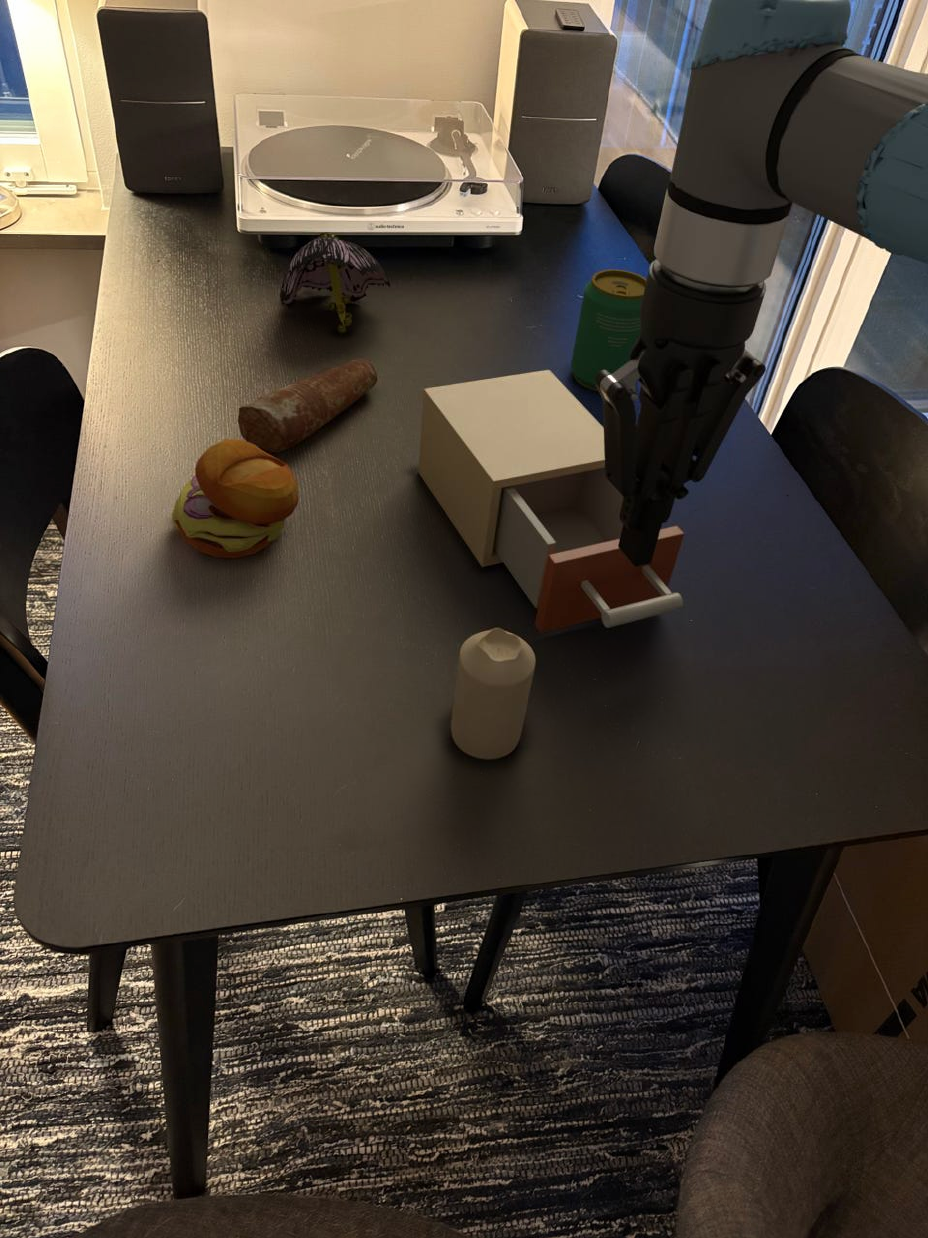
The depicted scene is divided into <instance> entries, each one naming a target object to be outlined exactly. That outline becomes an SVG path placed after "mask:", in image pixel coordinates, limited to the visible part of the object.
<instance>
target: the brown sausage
mask: <svg viewBox="0 0 928 1238" xmlns="http://www.w3.org/2000/svg"><path fill="white" fill-rule="evenodd" d="M377 382H378V374H377V370H376V368H375V366H374V365H373V364H372V363H370V362H369V361H367V360H366V359H363V358H357V359H353V360H350V361H348V362H346V363H344V364H341V365H339V366H336V367H333V368H330V369H328V370H324V371H322V372H320V373H317V374H314V375H312V376H310V377H307V378H304V379H301V380H298V381H297V382H295V383H291V384H289V385H287V386H284V387H281V388H279V389H277V390H275V391H273V392H270V393H268V394H265V395H263V396H260V397H258V398H256V399H255V400H253V401H251V402H249V403H247V404H244V405H242V406H240V407H239V408H238V418H237V424H238V428H239V432H240V435H241V437H242V438H243V439H244V441H247V442H250V443H252V444H254V445H256V446H257V447H258V448H260V449H263V450H266V452H271V453H280V452H284V451H287V450H289V449H290V448H293V447H294V446H296V445H298V444H299V443H301V441H303V440H305V439H307V438H308V437H309V436H312V435H313V434H314V433H315V432H317V431H318V430H319V429H321V428H322V427H323V426H324V425H326V424H327V423H329V422H330V421H332V420H333V419H334V418H335V417H337V416H338V415H339V414H340V413H342V412H343V411H345V410H346V409H347V408H349V407H350V406H352V404H354V403H355V402H356V401H358V400H359V399H360V398H362V397H363V396H364V395H365V394H367V393H368V392H369V391H370V390H371V389H373V388H374V387H375V385H376V384H377Z"/></svg>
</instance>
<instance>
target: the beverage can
mask: <svg viewBox="0 0 928 1238" xmlns="http://www.w3.org/2000/svg"><path fill="white" fill-rule="evenodd" d="M646 281H647V278H646V277H645V276H643V275H641V274H638V273H636V272H632V271H629V270H624V269H614V268H613V269H612V268H611V269H602V270H599V271H597V272H595V273H594V274H593V275H592V276H591V279H590V280H589V281H588V282H587V284H586V285H585V287H584V290H583V296H582V301H581V308H580V313H579V317H578V318H579V319H578V323H577V324H578V325H577V328H576V329H577V330H576V335H575V340H574V345H573V352H572V357H571V362H570V368H571V371H572V374H573V378H574V379H575V381H576V382H577V383H578V384H579V385H581V386H582V387H584V388H586V389H589V390H591V391H595V392H599V391H598V389H597V387H596V385H595V382H594V379H595V376H596V374H597V373H598V372H600V371H602V370H607V371H609V372H610V373H611V374H613V373H614V372H615V371H617V370H618V369H619V368H621V367H622V366H623V365H625V364H626V363H627V362H629V355H630V351H631V349H632V347H633V346H634V344H635V343H636V341H637V339H638V338H639V335H640V333H641V317H640V308H641V303H642V299H643V294H644V290H645V285H646Z"/></svg>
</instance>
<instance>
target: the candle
mask: <svg viewBox="0 0 928 1238" xmlns="http://www.w3.org/2000/svg"><path fill="white" fill-rule="evenodd" d="M536 661H537V660H536V655H535V652H534V651H533V648H532V647H531V646H530V645H529V643H527V642H526V641H525V640H524V639H522V638H521V636H518V635H516V634H514V633H512V632H509V631H506V630H504V629H502V628H501V627H494V628H492V629H489V630H484V631H481V632H477V633H475V634H473V635H471V636H470V637H468V638H467V639H465V641H464V642H463V644H462V645H461V648H460V649H459V657H458V665H457V672H456V679H455V680H456V681H455V689H454V695H453V696H454V697H453V705H452V713H451V722H450V731H451V737H452V740H453V742H454V743H455V745H456V746H457V747H458V748H459V750H461V751H462V752H463V753H465V754H467V755H468V756H471V757H474V758H476V759H480V760H497V759H500V758H503V757H505V756H506V757H507V755H509V754H511V753H512V752H514V750H515V749H516V748H517V746H518V744H519V742H520V740H521V736H522V732H523V726H524V721H525V717H526V712H527V708H528V702H529V699H530V694H531V693H530V692H531V687H532V683H533V678H534V673H535V667H536Z"/></svg>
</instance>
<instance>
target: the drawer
mask: <svg viewBox="0 0 928 1238" xmlns="http://www.w3.org/2000/svg"><path fill="white" fill-rule="evenodd" d="M623 498H624V497H623V496H622V495H621V494H620V493H619V492H618V490H617V489H616V488H615V487H614V486H613V485H612V484H611V483H610V481H609V480H608V479H607V478H606V476H605V468H600V469H594V470H589V471H584V472H579V473H574V474H569V475H564V476H559V477H554V478H549V479H544V480H539V481H534V482H529V483H523V484H518V485H513V486H508V487H503V488H501V495H500V502H499V509H498V516H497V523H496V530H495V537H494V544H493V548H494V550H495V551H496V552H497V554H498V555H499V557H500V558H501V560H502V561H503V562H502V563H503V564H504V566H505V567H506V568H507V570H508V571H509V573H510V574H511V576H512V577H513V578H514V580H515V581H516V582H517V584H518V586H519V587H520V588H521V590H522V591H523V593H524V594H525V596H526V597H527V598H528V600H529V601H530V603H531V604H532V605H533V607H534V608H535V609H536V610H537V612H536V615H535V616H536V617H535V621H534V625H535V627H536V628H537V630H538V631H539V633H540V634H543V633H544V634H545V633H548V632H551V631H555V630H559V629H563V628H566V627H570V626H574V625H578V624H582V623H585V622H589V621H593V620H597V619H601V621H602V624H603V625H604V627H605V628H606V629H607V628H608V629H610V628H614V627H617V626H621V625H625V624H628V623H633V622H637V621H641V620H644V619H648V618H651V617H655V616H658V615H663V614H666V613H670V612H673V611H677V610H681V609H682V608H683V604H684V600H683V597H682V596H681V593H679V592H672V591H671V590H670V588H668V587H669V584H670V581H671V578H672V575H673V572H674V569H675V565H676V562H677V559H678V556H679V553H680V549H681V547H682V543H683V540H684V536H685V532H684V531H683V530H682V529H681V528H680V527H679V526H678V525H674V526H669V527H665V528H661V530H660V533H659V537H658V540H657V544H656V547H655V551H654V555H653V558H652V562H651V563H650V564H646V565H641V566H637V567H635V566H634V565H633V564H632V563H631V561H630V560H629V559H628V558H627V557H626V555H625V554H624V553H623V552H622V551H621V549H620V548H619V547H618V544H619V540H620V536H621V532H622V528H623V523H622V522H621V521H620V517H619V514H620V510H621V506H622V502H623Z"/></svg>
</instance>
